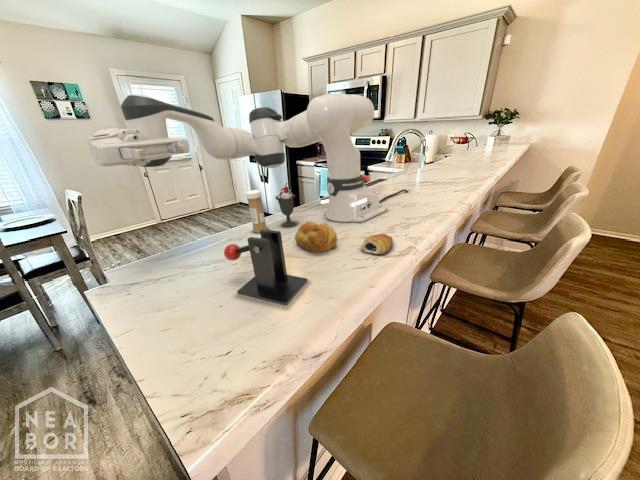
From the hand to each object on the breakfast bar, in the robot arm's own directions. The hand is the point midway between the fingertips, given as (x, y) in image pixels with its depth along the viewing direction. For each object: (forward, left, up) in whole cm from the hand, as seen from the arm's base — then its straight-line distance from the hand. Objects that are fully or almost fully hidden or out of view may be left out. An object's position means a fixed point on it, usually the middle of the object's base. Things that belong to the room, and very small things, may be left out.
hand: (162, 151), depth 59 cm
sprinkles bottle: (-22, -9, -29) cm, 37 cm away
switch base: (-12, +25, -29) cm, 40 cm away
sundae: (-32, -8, -29) cm, 43 cm away
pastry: (-42, +26, -29) cm, 57 cm away
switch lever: (-9, +22, -21) cm, 32 cm away
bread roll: (-30, +14, -29) cm, 44 cm away
